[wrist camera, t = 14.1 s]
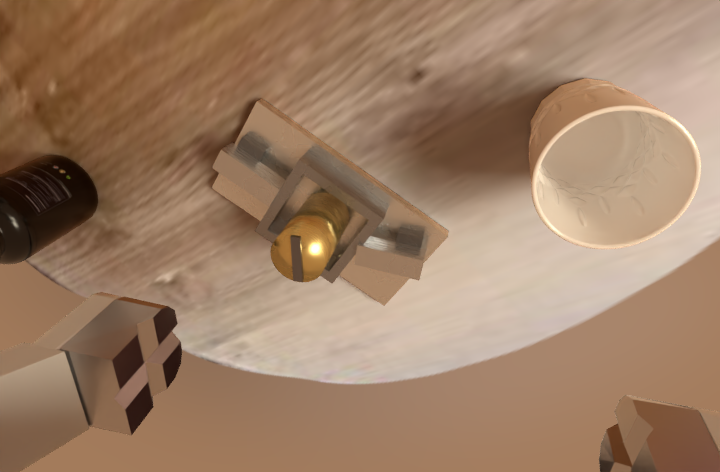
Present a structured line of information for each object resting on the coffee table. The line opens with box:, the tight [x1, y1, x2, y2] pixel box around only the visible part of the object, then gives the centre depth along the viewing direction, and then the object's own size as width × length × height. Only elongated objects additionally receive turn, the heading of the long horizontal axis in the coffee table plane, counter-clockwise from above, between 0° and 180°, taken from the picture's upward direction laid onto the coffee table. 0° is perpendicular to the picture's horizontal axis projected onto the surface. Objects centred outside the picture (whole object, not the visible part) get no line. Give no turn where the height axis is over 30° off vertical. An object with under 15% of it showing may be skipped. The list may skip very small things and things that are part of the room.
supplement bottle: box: [0, 155, 98, 264], centre depth 41 cm, size 7×7×12 cm
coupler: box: [271, 192, 349, 282], centre depth 37 cm, size 4×4×7 cm
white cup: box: [529, 78, 701, 249], centre depth 30 cm, size 8×8×10 cm
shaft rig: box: [212, 98, 449, 305], centre depth 39 cm, size 18×9×4 cm, turn 57°
